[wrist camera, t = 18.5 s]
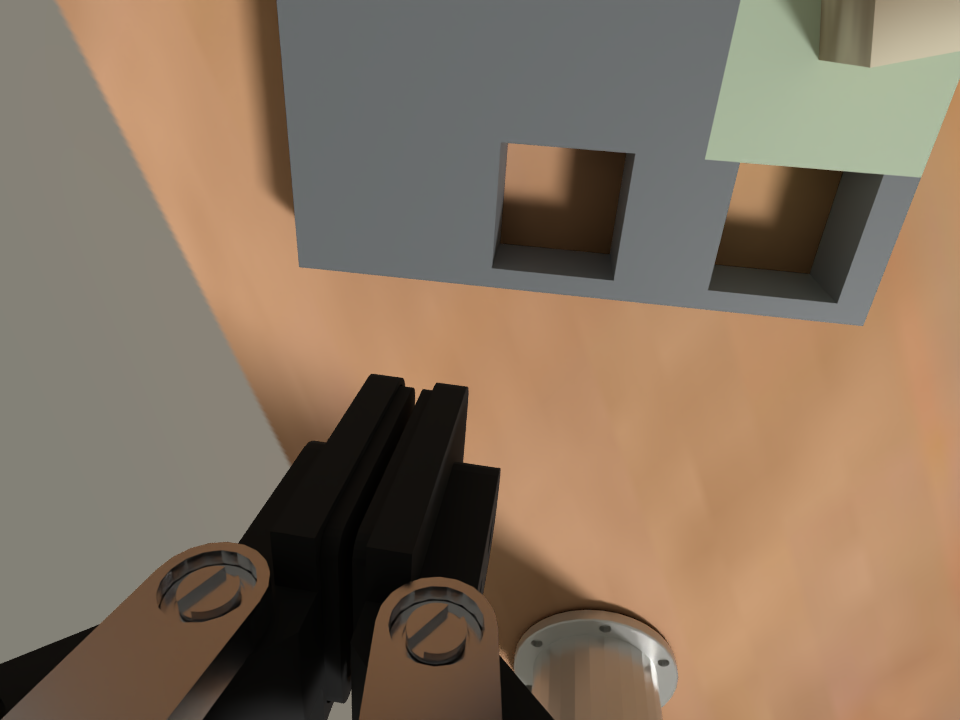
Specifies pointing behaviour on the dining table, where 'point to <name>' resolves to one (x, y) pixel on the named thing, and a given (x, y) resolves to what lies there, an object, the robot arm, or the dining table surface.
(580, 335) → the dining table surface
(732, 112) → the board
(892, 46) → the maple block
